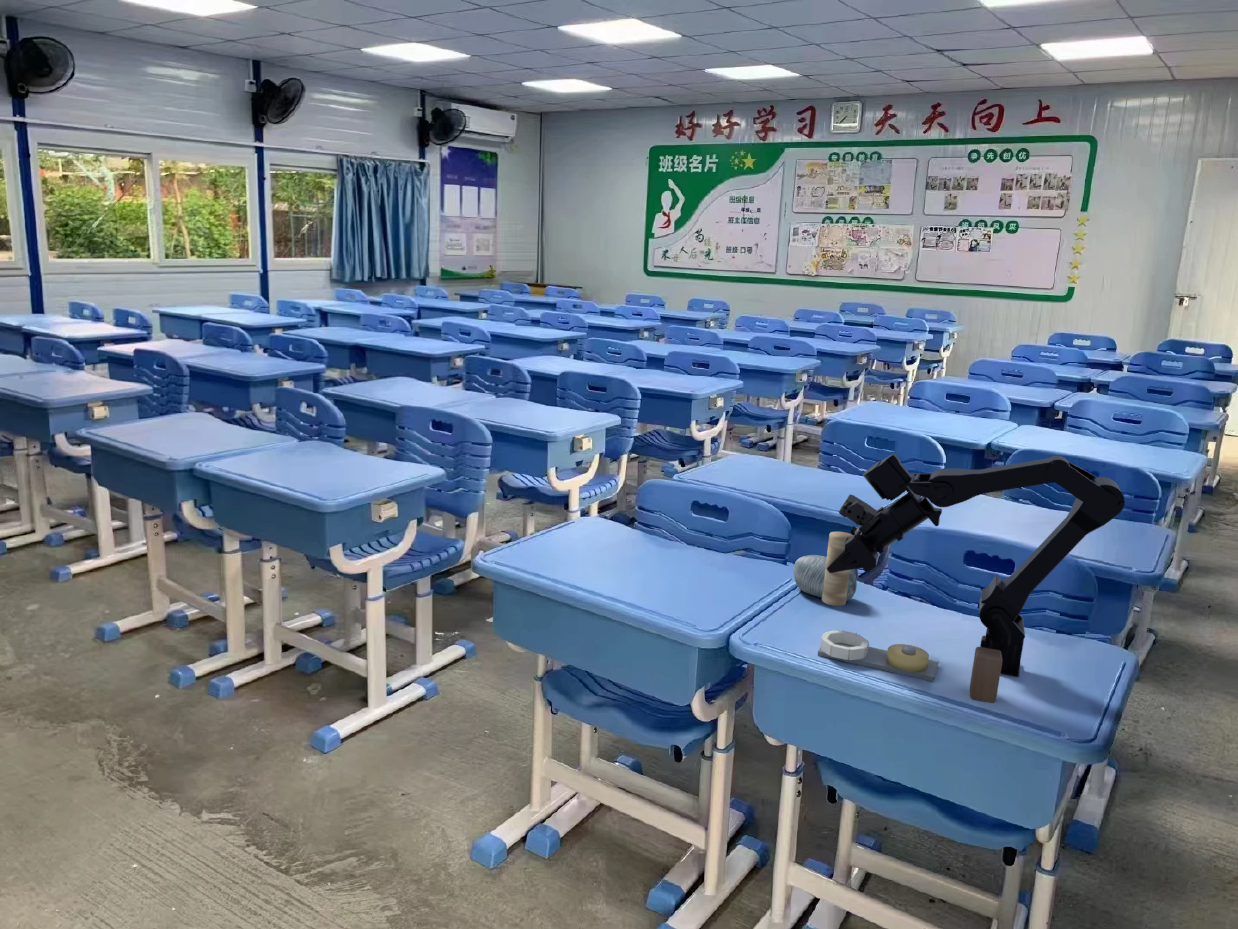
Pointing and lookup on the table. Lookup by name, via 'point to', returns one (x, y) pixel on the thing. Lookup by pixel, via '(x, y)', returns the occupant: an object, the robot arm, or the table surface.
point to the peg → (835, 581)
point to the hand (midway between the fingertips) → (830, 566)
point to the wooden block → (985, 674)
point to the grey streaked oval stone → (817, 576)
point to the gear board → (878, 655)
